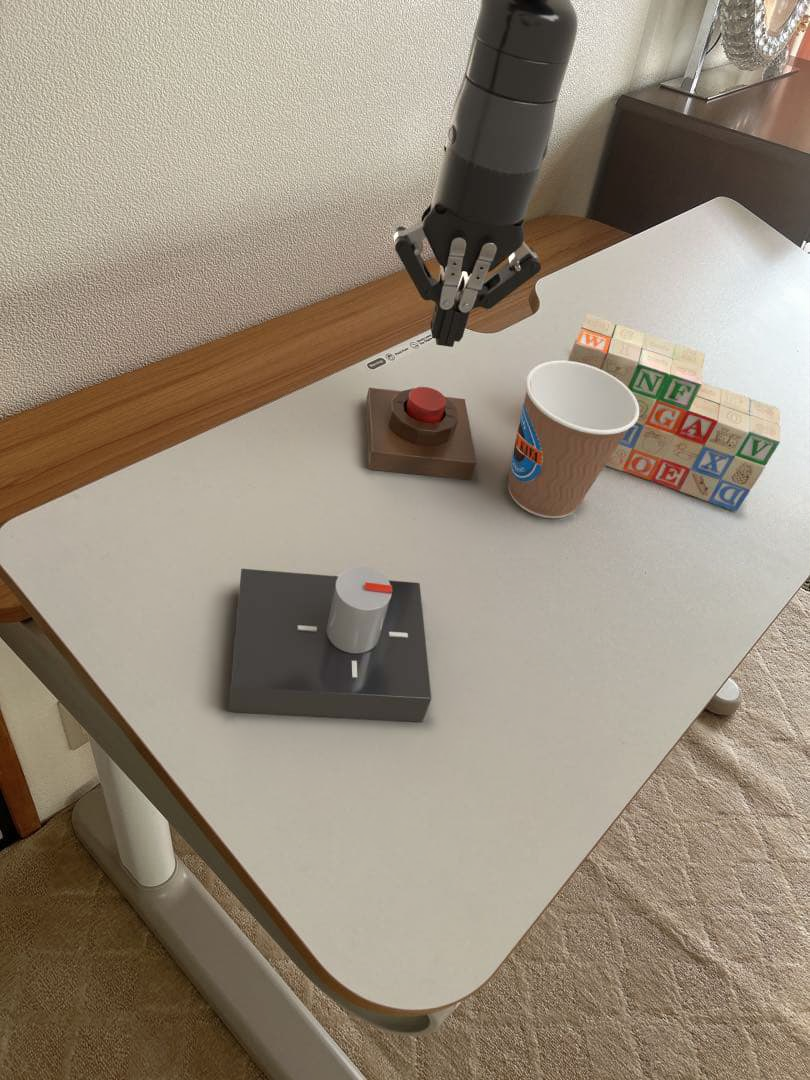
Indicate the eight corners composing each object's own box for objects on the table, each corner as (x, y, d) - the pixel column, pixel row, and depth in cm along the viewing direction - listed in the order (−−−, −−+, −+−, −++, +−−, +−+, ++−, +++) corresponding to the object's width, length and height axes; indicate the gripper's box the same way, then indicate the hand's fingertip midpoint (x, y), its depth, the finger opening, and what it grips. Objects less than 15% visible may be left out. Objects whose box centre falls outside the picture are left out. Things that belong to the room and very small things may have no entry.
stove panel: (228, 712, 62) (231, 686, 60) (238, 593, 70) (241, 566, 68) (423, 722, 65) (432, 697, 63) (412, 606, 72) (420, 581, 70)
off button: (407, 422, 84) (410, 407, 82) (404, 399, 86) (408, 384, 85) (444, 426, 84) (448, 411, 83) (440, 403, 87) (444, 389, 86)
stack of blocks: (739, 478, 94) (797, 383, 85) (736, 514, 89) (797, 418, 81) (548, 409, 96) (586, 310, 87) (536, 441, 92) (575, 340, 83)
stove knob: (324, 650, 64) (334, 603, 60) (327, 607, 67) (337, 560, 63) (379, 656, 64) (392, 610, 61) (380, 614, 67) (393, 567, 63)
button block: (368, 469, 83) (375, 436, 80) (365, 404, 90) (371, 372, 87) (471, 480, 85) (481, 448, 82) (459, 415, 92) (469, 384, 89)
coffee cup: (483, 454, 88) (517, 353, 80) (580, 464, 90) (623, 367, 82) (499, 527, 81) (537, 424, 73) (604, 536, 83) (653, 437, 75)
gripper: (567, 142, 71) (507, 328, 83) (406, 112, 69) (368, 308, 81) (587, 182, 66) (520, 375, 78) (413, 151, 63) (372, 355, 75)
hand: (443, 341), depth 79 cm, fingers closed
